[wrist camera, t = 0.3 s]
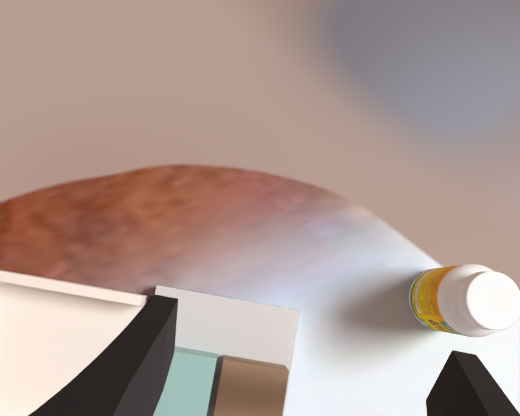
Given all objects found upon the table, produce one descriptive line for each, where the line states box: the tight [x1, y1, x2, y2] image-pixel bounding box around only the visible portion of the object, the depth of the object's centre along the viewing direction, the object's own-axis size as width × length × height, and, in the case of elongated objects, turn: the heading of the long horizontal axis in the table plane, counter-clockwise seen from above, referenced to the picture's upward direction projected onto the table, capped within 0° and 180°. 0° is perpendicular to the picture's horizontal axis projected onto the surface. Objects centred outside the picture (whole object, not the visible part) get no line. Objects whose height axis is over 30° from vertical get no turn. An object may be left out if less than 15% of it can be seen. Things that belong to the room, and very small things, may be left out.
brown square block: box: [213, 355, 289, 416], centre depth 37 cm, size 5×5×3 cm
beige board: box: [155, 285, 300, 416], centre depth 39 cm, size 14×12×2 cm
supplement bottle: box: [409, 264, 520, 337], centre depth 37 cm, size 5×5×10 cm
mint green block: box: [153, 346, 218, 416], centre depth 37 cm, size 5×5×3 cm
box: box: [0, 270, 148, 416], centre depth 38 cm, size 12×14×3 cm
